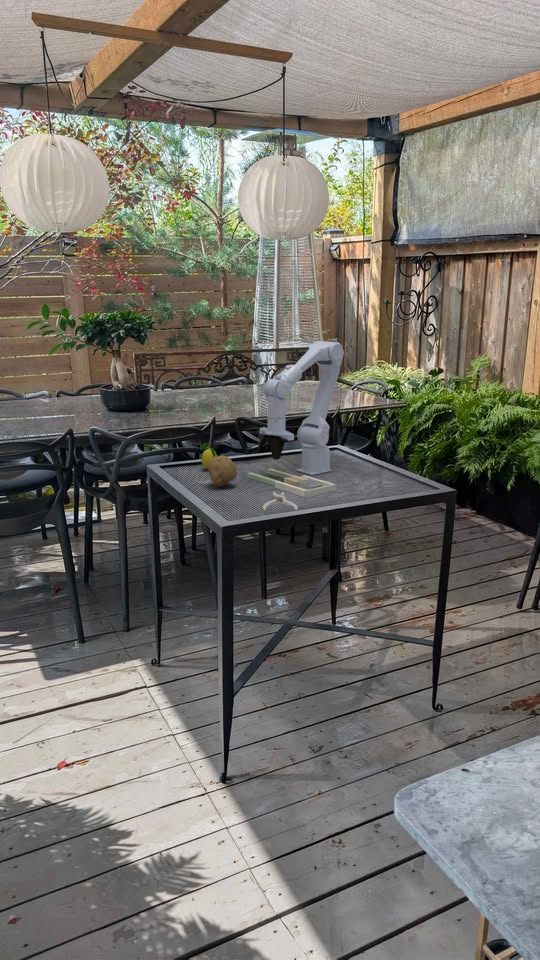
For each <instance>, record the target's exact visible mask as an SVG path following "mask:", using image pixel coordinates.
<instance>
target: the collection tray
mask: <svg viewBox="0 0 540 960" xmlns="http://www.w3.org/2000/svg"><path fill="white" fill-rule="evenodd" d="M300 477H303V478H306V479H311V480H314V481H318V482H321V483H323V486H322V487H318V488H314V489H309V490H306V489H302V488H299V487H296V486H293V485H289V484H286V483H284V481H283V482H282V481H280V480H277V481H275V486H274V488H275V489H278V490H281V491H282V492H284V491H285V492H288V493H290V494H293V495H296V496H300V497H303V498H305V499H306V498H307V499H308V498H311V497H315V496H319V495H324V494H328V493H331V492H335V491H337V484H336V483H334V482H333V483H332V482H329V481H326V480H322V479H319V478H315V477H311V476H309V475H301V476H300Z"/></svg>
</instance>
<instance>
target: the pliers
mask: <svg viewBox="0 0 540 960" xmlns="http://www.w3.org/2000/svg"><path fill="white" fill-rule="evenodd" d="M272 498H273V499H272V500H269V501H267V502H265V503H264V504H263V505H262V511H264V512H266V509H267V508H268V507H270V506H271V507H272V506H276V505H277V504H278V502H279V501H280V503H281V504H282V505H284V506H287V507H288V506H290V507H292V508H293V509H294V511H298V509H299V508H298V505H297V504H295V503H294V502H293V501H290V500H287V498H286V496H285V492H284V491H282V492H281V493H280V494H278V493H277V492H276V491H272Z"/></svg>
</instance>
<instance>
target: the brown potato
mask: <svg viewBox="0 0 540 960" xmlns="http://www.w3.org/2000/svg"><path fill="white" fill-rule="evenodd" d="M207 470H208V474H209V479H210V480H211V482H212V484H214V485H215V486H216V487H218V488H222V487H225V486H226V485H228V484H229V483H230V482H232V481H234V479H236V477H237V475H238V469H237V467H236V465H235V463H234V462H233V461H232V459H231V458H230V457H228V456H226V455H222V454H221V455H217V457H214V458H213V459H212V460H211V461H210V462H209V464H208V469H207Z"/></svg>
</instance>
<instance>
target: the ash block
mask: <svg viewBox="0 0 540 960" xmlns="http://www.w3.org/2000/svg"><path fill="white" fill-rule="evenodd" d="M304 480H308V479H306V478H303V477H301V476H298V475H295V476H291V477H287V478H283V483H286V484H289V485H293V486H296V487H298V482H299V481H304Z"/></svg>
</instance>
